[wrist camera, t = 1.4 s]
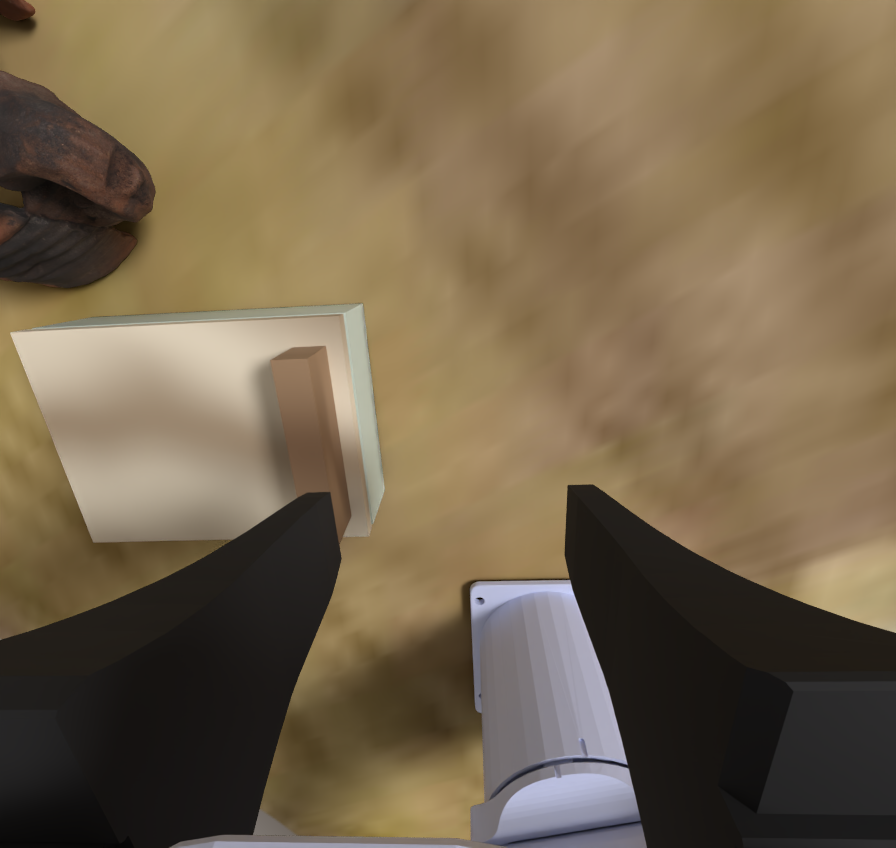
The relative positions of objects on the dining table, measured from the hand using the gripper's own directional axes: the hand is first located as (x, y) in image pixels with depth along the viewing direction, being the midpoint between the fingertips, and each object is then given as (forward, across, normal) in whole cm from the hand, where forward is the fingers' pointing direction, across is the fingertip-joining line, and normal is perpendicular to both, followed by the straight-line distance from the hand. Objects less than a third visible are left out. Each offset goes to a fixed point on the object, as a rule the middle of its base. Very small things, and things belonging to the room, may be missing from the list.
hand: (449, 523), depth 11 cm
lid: (+7, +10, 0) cm, 12 cm away
